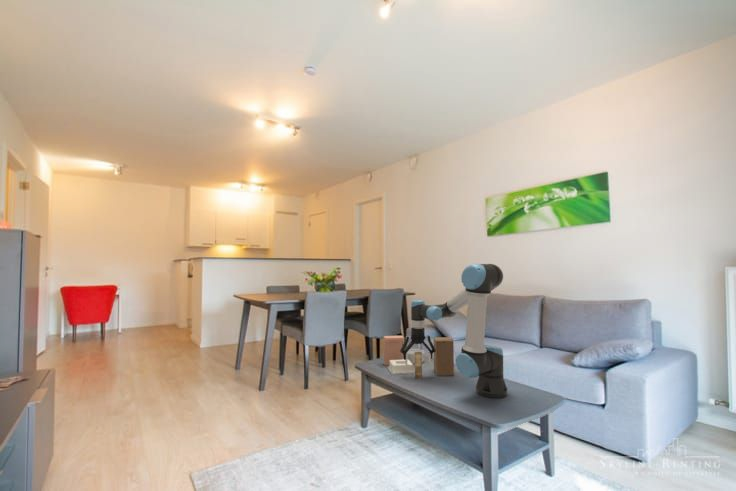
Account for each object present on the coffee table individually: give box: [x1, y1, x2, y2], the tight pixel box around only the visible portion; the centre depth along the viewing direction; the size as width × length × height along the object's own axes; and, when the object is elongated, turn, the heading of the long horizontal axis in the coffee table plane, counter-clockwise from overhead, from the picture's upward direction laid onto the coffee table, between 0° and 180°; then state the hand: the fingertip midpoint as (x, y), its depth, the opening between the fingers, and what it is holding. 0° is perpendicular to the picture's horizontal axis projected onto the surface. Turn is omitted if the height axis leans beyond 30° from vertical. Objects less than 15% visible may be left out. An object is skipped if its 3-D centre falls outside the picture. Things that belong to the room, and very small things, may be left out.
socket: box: [387, 359, 415, 376], centre depth 217 cm, size 14×14×5 cm
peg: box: [414, 352, 423, 380], centre depth 204 cm, size 4×4×14 cm
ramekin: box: [407, 348, 425, 365], centre depth 236 cm, size 13×13×7 cm
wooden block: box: [433, 336, 455, 377], centre depth 212 cm, size 10×10×20 cm
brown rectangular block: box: [383, 335, 405, 366], centre depth 228 cm, size 7×12×18 cm, turn 97°
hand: (417, 364), depth 204 cm, fingers open, 13 cm apart
